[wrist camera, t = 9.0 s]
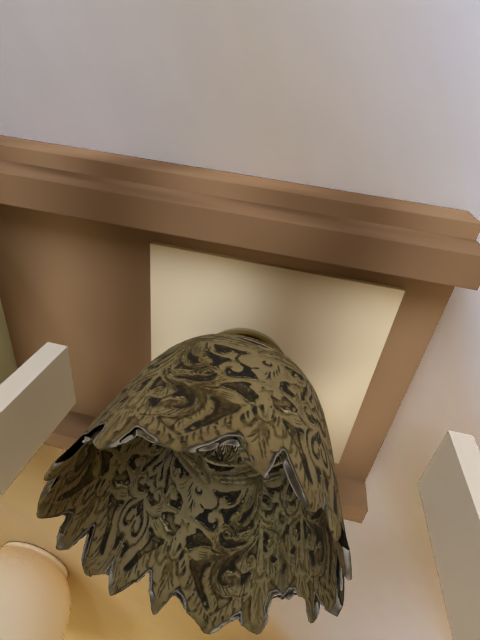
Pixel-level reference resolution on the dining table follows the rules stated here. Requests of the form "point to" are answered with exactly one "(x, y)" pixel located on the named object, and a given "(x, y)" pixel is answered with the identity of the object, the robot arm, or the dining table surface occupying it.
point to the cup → (209, 485)
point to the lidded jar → (32, 594)
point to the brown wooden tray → (223, 281)
